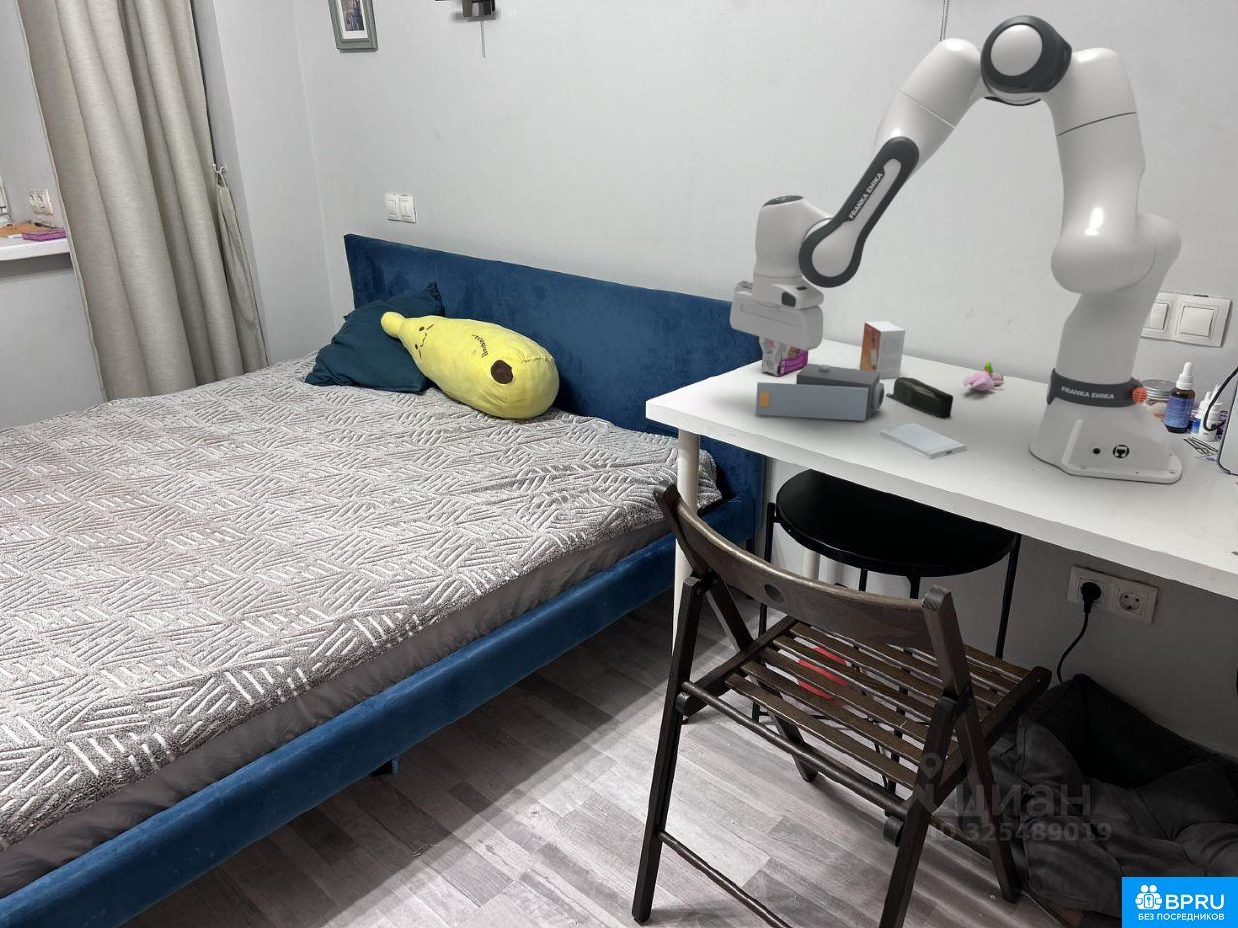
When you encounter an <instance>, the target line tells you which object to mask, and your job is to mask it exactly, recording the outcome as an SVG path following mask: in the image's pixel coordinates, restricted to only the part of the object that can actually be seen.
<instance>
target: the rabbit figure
mask: <svg viewBox="0 0 1238 928" xmlns="http://www.w3.org/2000/svg"><path fill="white" fill-rule="evenodd" d="M993 370H994V369H993V367H992V362H991V361H989V362H987V363H986V364H985V365H984V371H985V372H977V373H975V374H973V375H972V376H968V377H967V376H966V377H965V378H964V379H963V385H964V387H967V386H968V385H970V387H971V388H972V389H974V390H977V391H978V392H979V391H981V392H985V391H990V390H991V389H994V388H995V386H997V385H998V386H999V385H1001V384H1004V383H1005V381H1004V374H1001V375H999V374H998V373H996V372H994V371H993Z"/></svg>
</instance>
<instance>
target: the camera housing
mask: <svg viewBox="0 0 1238 928" xmlns="http://www.w3.org/2000/svg"><path fill="white" fill-rule="evenodd" d="M880 373H881V372H873V371H865V370H862V369H857V368H848V367H847V368H846V367H839V366H832V365H829V364H815V363H809V362H808V363H807V365H806V366H805V367H803V368H801V370H800V371H799V372H798V373H796V381H795V384H803V385H822V386H841V387H860V388H868V398H867V407H866V417H865V421H869V419H870V418H871V416H872V415H873V413H874V412H875V410H876V411H877V410H878V411H879V410H880V409H881V406H882V405H883V402H884V399H885V398H884V397H885V387H884V385H885V384H884V383H883V382H880V381H881V379H880Z"/></svg>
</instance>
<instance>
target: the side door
mask: <svg viewBox="0 0 1238 928" xmlns="http://www.w3.org/2000/svg"><path fill="white" fill-rule="evenodd" d="M867 398H868V388H860V387H841V386H822V385H803V384H796V383H781V382H780V383H779V382H762V381H761V382H760V381H758V382H757V384H756V399H755V400H756V401H755V415H762V416H765V415H766V416H780V417H781V416H783V417H795V418H796V417H797V418H799V417H800V418H801V417H802V418H812V419H813V418H815V419H833V420H834V419H835V420H850V421H866V420H865V417H866V407H867Z"/></svg>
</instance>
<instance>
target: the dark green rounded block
mask: <svg viewBox="0 0 1238 928" xmlns="http://www.w3.org/2000/svg"><path fill="white" fill-rule="evenodd" d="M885 395H886V397H888V398H890V399H893V400H896V401H898V402H901V403H903V404H905V405H907V406H909V407H913V408H914V409H917V410H919V411H921V412H923V413H925V414H927V413H928V414H927V415H930V414H931V415H930V416H932V415H934V416H933V417H935V416H936V417H935V418H938V417H940V418H939V419H946V418H950V417H951V416H952V415H951V414H952V408H953V402H954V396H953V395H952V394H950V393H948V392H945V391H943V390H940V389H938V388H936V387H934V386H931V385H929V384H927V383H925V382H922V381H920V380H919V379H916V378H914V377H906V376H899V378H895V380H894V384H893V393H892V394H891V393H889V392H887V393H886V394H885Z"/></svg>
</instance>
